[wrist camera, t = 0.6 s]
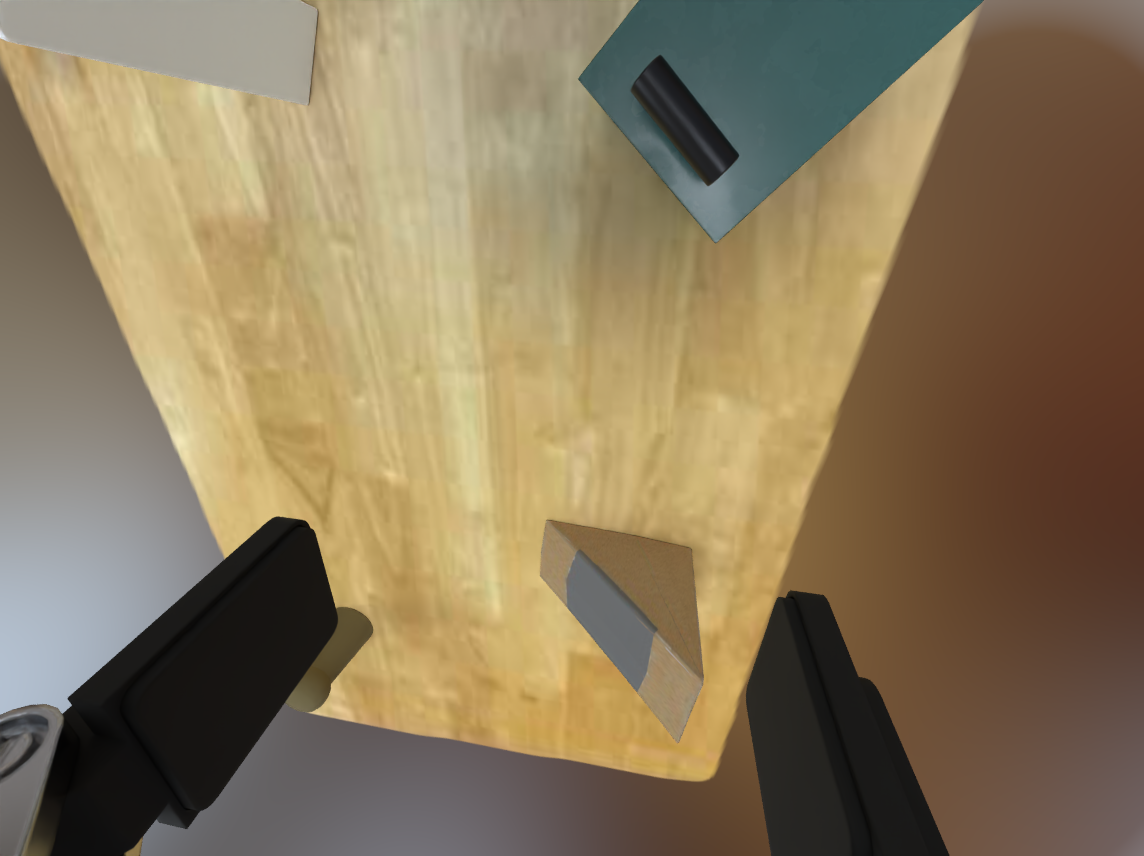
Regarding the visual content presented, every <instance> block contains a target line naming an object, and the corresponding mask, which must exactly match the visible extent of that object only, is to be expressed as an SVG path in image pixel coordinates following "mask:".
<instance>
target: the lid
mask: <svg viewBox="0 0 1144 856" xmlns="http://www.w3.org/2000/svg"><path fill="white" fill-rule="evenodd" d="M983 1H984V0H639V1H638V3H637V4H636V5H635V6H634V8H633V9H632V10H631V12H630V13H629V14H628V15H627V17H626V18H625V19H624V21H623V22H622V23H621V24H620V26H619V27H618V28H617V29H616V31H615V32H614V33H613V35H612V36H611V37H610V38H609V40H608V41H607V42H606V43H605V45H604V46H603V47H602V49H601V50H600V51H599V52H598V54H597V55H596V56H595V58H594V59H593V60H592V61H591V63H590V64H589V65H588V66H587V68H586V69H585V70H584V72H583V73H582V74H581V75H580V77H579V78H578V80H579V81H580V82H581V83H582V85H583V86H584V87H585V88H586V89H587V91H588V92H589V93H590V94H591V95H592V97H593V98H594V99H595V100H596V101H597V103H598V104H599V105H600V106H601V107H602V109H603V110H604V111H605V112H606V113H607V115H608V116H609V117H610V118H611V119H612V120H613V122H614V123H615V124H616V125H617V126H618V128H619V129H620V130H621V131H622V132H623V134H624V135H625V136H626V137H627V138H628V140H629V141H630V142H631V143H632V144H633V146H634V147H635V148H636V149H637V150H638V152H639V153H640V154H641V155H642V156H643V158H644V159H645V160H646V161H647V162H648V164H649V165H650V166H651V167H652V168H653V170H654V171H655V172H656V173H657V174H658V176H659V177H660V178H661V179H662V180H663V182H664V183H665V184H666V185H667V186H668V188H669V189H670V190H671V191H672V192H673V194H674V195H675V196H676V197H677V198H678V200H679V201H680V202H681V203H682V204H683V206H684V207H685V208H686V209H687V210H688V212H689V213H690V214H691V215H692V216H693V218H694V219H695V220H696V221H697V222H698V224H699V225H700V226H701V227H702V228H703V230H704V231H705V232H706V233H707V234H708V236H709V237H710V238H711V239H712V240H713V241H714V243H717V242H718V241H719V240H720V239H721V238H723V237H724V236H725V235H726V234H727V233H728V232H729V231H730V230H731V229H732V228H734V227H735V226H736V225H737V224H738V223H739V222H740V221H741V220H742V219H744V218H745V217H746V216H747V215H748V214H749V213H750V212H751V211H752V210H753V209H755V208H756V207H757V206H758V205H759V204H760V203H761V202H762V201H763V200H764V199H766V198H767V197H768V196H769V195H770V194H771V193H772V192H773V191H774V190H776V189H777V188H778V187H779V186H780V185H781V184H782V183H783V182H784V181H785V180H787V179H788V178H789V177H790V176H791V175H792V174H793V173H794V172H795V171H796V170H798V169H799V168H800V167H801V166H802V165H803V164H804V163H805V162H806V161H808V160H809V159H810V158H811V157H812V156H813V155H814V154H815V153H816V152H817V151H819V150H820V149H821V148H822V147H823V146H824V145H825V144H826V143H827V142H828V141H830V140H831V139H832V138H833V137H834V136H835V135H836V134H837V133H838V132H840V131H841V130H842V129H843V128H844V127H845V126H846V125H847V124H848V123H849V122H851V121H852V120H853V119H854V118H855V117H856V116H857V115H858V114H859V113H861V112H862V111H863V110H864V109H865V108H866V107H867V106H868V105H869V104H870V103H872V102H873V101H874V100H875V99H876V98H877V97H878V96H879V95H880V94H881V93H883V92H884V91H885V90H886V89H887V88H888V87H889V86H890V85H891V84H893V83H894V82H895V81H896V80H897V79H898V78H899V77H900V76H901V75H902V74H904V73H905V72H906V71H907V70H908V69H909V68H910V67H911V66H912V65H913V64H915V63H916V62H917V61H918V60H919V59H920V58H921V57H922V56H923V55H925V54H926V53H927V52H928V51H929V50H930V49H931V48H932V47H933V46H934V45H936V44H937V43H938V42H939V41H940V40H941V39H942V38H943V37H944V36H945V35H947V34H948V33H949V32H950V31H951V30H952V29H953V28H954V27H955V26H957V25H958V24H959V23H960V22H961V21H962V20H963V19H964V18H965V17H966V16H968V15H969V14H970V13H971V12H972V11H973V10H974V9H975V8H976V7H978V6H979V5H980V4H981V3H982V2H983Z"/></svg>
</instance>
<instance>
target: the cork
mask: <svg viewBox="0 0 1144 856" xmlns="http://www.w3.org/2000/svg"><path fill="white" fill-rule="evenodd" d="M336 611H337V614H338V624H337V628H336V630H335V632H334V634H333V636H332V637H331V638H330V640H329V641H328V643H327V644H326V645H325V647H324V648H323V650H322V651H321V652H320V654H319V655H318V657H317V658H316V659H315V661H314V662H313V664H312V665H311V667H310V668H309V669H308V671H307V672H306V674H305V675H304V676H303V678H302V679H301V681H300V682H299V683H298V685H297V686H296V688H295V689H294V690H293V692H292V693H291V695H290V696H289V697H288V699H287V700H286V702H285V703H286V704H287V705H288V706H289V707H291V708H293V709H295V710H297V711H301V712H312V711H314V710H316V709H318V708H319V707H321V706H322V705H323V704H324V702H325V701H326V699H327V698H328V696H329V693H330V690H331V683H332V682H333V681H334V680H335V679H336V677H337V676H338V675H339V674H340V673H341V671H342V670H343V669H344V668H345V667H346V665H347V664H348V663H349V662H350V661H351V659H352V658H353V657H354V656H355V655H356V653H357V652H358V651H359V650H360V649H361V647H362V646H363V645H364V644H365V643H366V641H367V640H368V639H369V638H370V637H371V635H372V633H373V627H372V625H371V622H370V621H369V620H368V619H367V618H366V617H365V616H364V615H363V614H361V613H360V612H358V611H356V610H353V609H350V608H337V609H336Z"/></svg>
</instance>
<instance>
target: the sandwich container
mask: <svg viewBox="0 0 1144 856" xmlns="http://www.w3.org/2000/svg"><path fill="white" fill-rule="evenodd" d="M540 577H541V578H542V579H543V580H544V581H545V582H546V583H547V585H548V586H549V587H550V588H551V589H552V590H553V592H554V593H555V594H556V595H557V596H558V597H559V599H560V600H561V601H562V602H563V603H564V604H565V606H566V607H567V608H568V609H569V610H570V612H571V613H572V614H573V615H574V616H575V618H576V619H577V620H578V621H579V622H580V624H581V625H582V626H583V627H584V628H585V629H586V631H587V632H588V633H589V634H590V635H591V637H592V638H593V639H594V640H595V642H596V643H597V644H598V645H599V647H600V648H601V649H602V650H603V652H604V653H605V654H606V655H607V656H608V658H609V659H610V660H611V661H612V662H613V663H614V665H615V666H616V667H617V668H618V669H619V671H620V672H621V673H622V674H623V676H624V677H625V678H626V679H627V681H628V682H629V683H630V684H631V686H632V687H633V688H634V689H635V691H636V692H637V693H638V694H639V696H640V697H641V698H642V699H643V701H644V702H645V703H646V704H647V706H648V707H649V708H650V709H651V711H652V712H653V713H654V714H655V716H656V717H657V718H658V719H659V721H660V722H661V723H662V724H663V726H664V727H665V728H666V730H667V731H668V732H669V733H670V735H671V736H672V737H673V739H674V740H675V741H676V742H677V743H679V741H680V739H681V736H682V734H683V731H684V728H685V726H686V723H687V721H688V718H689V716H690V713H691V711H692V709H693V706H694V704H695V702H696V699H697V697H698V695H699V693H700V690H701V688H702V686H703V680H704V675H703V664H702V654H701V643H700V633H699V622H698V611H697V601H696V591H695V580H694V570H693V560H692V549H690V548H688V547H683V546H679V545H674V544H670V543H665V542H661V541H656V540H652V539H647V538H642V537H638V536H633V535H628V534H623V533H617V532H611V531H606V530H600V529H594V528H589V527H583V526H578V525H572V524H566V523H561V522H555V521H549V520H546V526H545V532H544V538H543V544H542V551H541V571H540Z"/></svg>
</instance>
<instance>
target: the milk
mask: <svg viewBox="0 0 1144 856" xmlns="http://www.w3.org/2000/svg"><path fill="white" fill-rule="evenodd" d="M317 16H318V10H317V9H316V8H314V7H312V6H310V5H308V4H306V3H304V2H302V1H300V0H0V38H1V39H3V40H6V41H8V42H12V43H17V44H21V45H26V46H31V47H35V48H40V49H45V50H49V51H54V52H59V53H63V54H68V55H73V56H77V57H82V58H87V59H91V60H96V61H101V62H106V63H110V64H115V65H120V66H124V67H129V68H134V69H138V70H143V71H148V72H152V73H157V74H162V75H166V76H171V77H176V78H180V79H185V80H190V81H194V82H199V83H204V84H209V85H213V86H218V87H223V88H227V89H232V90H237V91H241V92H246V93H251V94H255V95H260V96H265V97H269V98H274V99H279V100H283V101H288V102H293V103H297V104H302V105H308V104H309V95H310V85H311V75H312V65H313V55H314V45H315V35H316V26H317Z"/></svg>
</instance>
